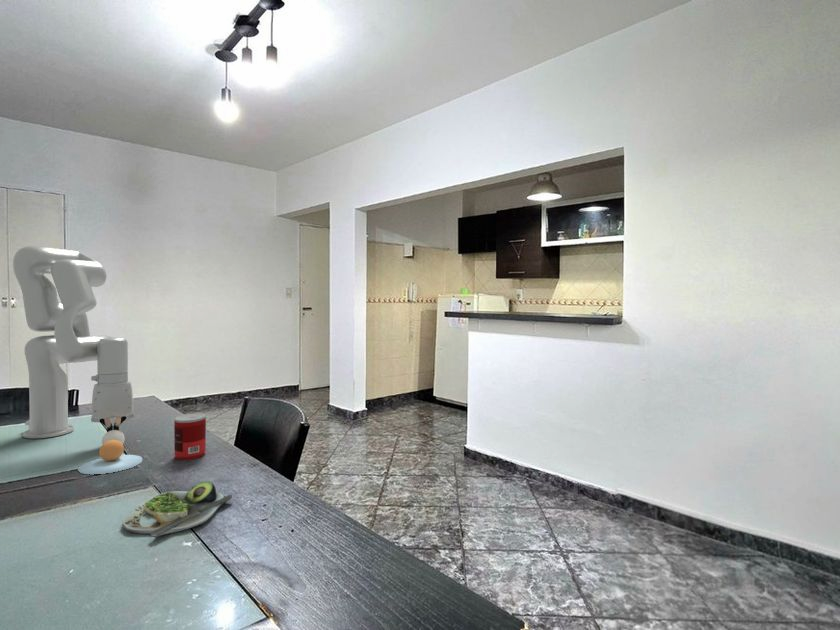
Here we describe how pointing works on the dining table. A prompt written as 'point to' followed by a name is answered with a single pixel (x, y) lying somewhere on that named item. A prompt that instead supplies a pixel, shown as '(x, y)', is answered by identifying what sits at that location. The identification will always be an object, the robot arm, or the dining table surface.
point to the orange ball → (111, 450)
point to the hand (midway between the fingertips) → (113, 438)
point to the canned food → (190, 436)
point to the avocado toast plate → (177, 510)
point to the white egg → (113, 436)
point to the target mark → (110, 465)
